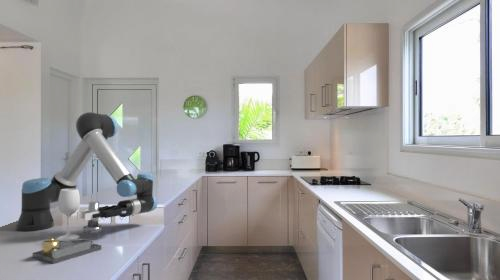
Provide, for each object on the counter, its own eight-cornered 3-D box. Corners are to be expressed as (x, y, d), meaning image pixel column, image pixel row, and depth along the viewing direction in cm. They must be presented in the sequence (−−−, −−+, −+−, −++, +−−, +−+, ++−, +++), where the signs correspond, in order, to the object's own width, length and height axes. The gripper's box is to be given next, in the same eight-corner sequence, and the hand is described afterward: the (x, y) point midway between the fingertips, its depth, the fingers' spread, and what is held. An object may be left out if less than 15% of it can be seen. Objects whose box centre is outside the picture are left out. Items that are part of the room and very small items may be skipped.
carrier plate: (31, 256, 113) (31, 238, 113) (79, 243, 129) (80, 227, 129) (53, 263, 106) (53, 244, 107) (101, 249, 122) (101, 232, 122)
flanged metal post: (79, 231, 132) (80, 202, 133) (94, 228, 138) (96, 200, 139) (90, 234, 129) (91, 204, 129) (105, 230, 135) (106, 202, 135)
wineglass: (69, 241, 132) (70, 190, 132) (51, 240, 133) (52, 190, 134) (84, 236, 140) (85, 188, 141) (67, 235, 142) (68, 187, 142)
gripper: (140, 218, 145) (93, 228, 125) (116, 213, 154) (68, 223, 133) (141, 201, 145) (94, 209, 125) (116, 198, 154) (68, 205, 133)
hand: (81, 216), depth 129 cm, fingers closed on flanged metal post, 4 cm apart
